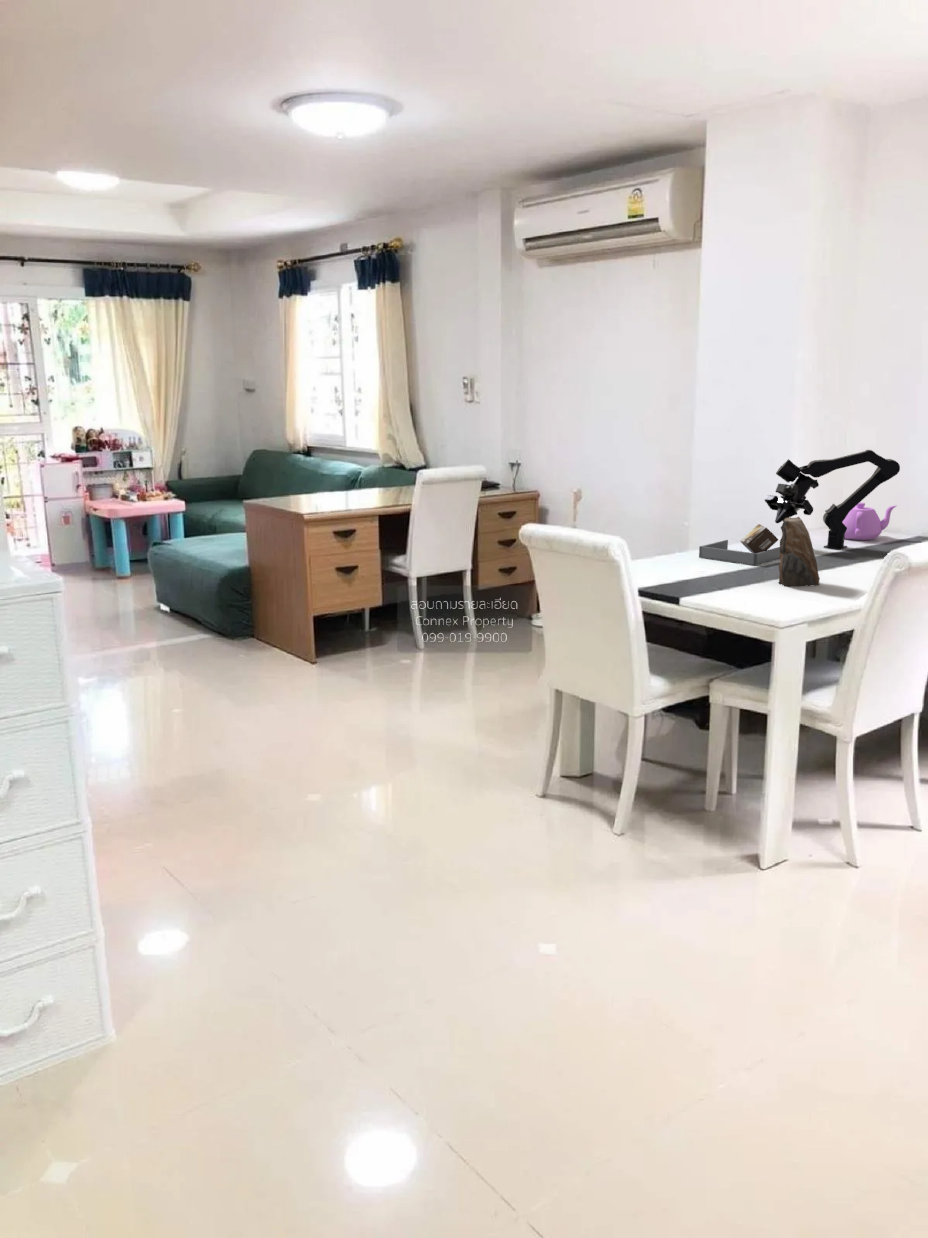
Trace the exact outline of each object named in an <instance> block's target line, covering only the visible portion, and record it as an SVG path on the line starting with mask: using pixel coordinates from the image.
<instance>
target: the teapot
mask: <svg viewBox="0 0 928 1238" xmlns="http://www.w3.org/2000/svg"><path fill="white" fill-rule="evenodd" d="M897 506H898V505H897V504H896V505H892V506H888V508H887V509H886V510H885V515H884V518H883V519H880V517H879V515H878V513H877V511H876V510H875V508H873V507H869V506H866V503H865V502H860V503H858V504H857V505H856V506H855V507H854V508H853V509H852V510H851V511H850V512H849V513H848V515H847V516H846V518H845V519H844V520H843V522H842V523H843V524H844V525H845V526H846V527H847V530H846V532H845V538H844V540H862V541H870V540H874V539H877V538H879V536H880V535H881V534H882V532H883V531H884V530H885V529H886V528H888V526H889V524H890V520H891V513H892V512H893V510H894V509H895V508H896V507H897Z"/></svg>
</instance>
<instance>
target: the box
mask: <svg viewBox="0 0 928 1238" xmlns="http://www.w3.org/2000/svg"><path fill="white" fill-rule="evenodd" d="M728 545H729V540H728V539H725V540H719V541H715V542H713V543H708V544H707V543H706V544H703V545H700V546H699V549H698V550H699V551H698V558H700V559H706V560H712V561H713V560H714V561H719V560H720V561H719V562H721V561H722V562H727V563H734V564H740V563H741V565H748V566H753V567H757V566H760V565H763V564H767V563H771V562H774V561H776V560H777V561H778V560H780V558H779V549H780V546H778V547H777V546H776V547H774V548H769V549H768V550H767V551H763V552H759V553H756V554H755V553H752V552H750V551H748V552H747V551H742V550H741V551H740V550H733V549H729V548H728V547H729V546H728ZM773 560H774V561H773ZM762 563H763V564H762Z"/></svg>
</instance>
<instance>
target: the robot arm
mask: <svg viewBox="0 0 928 1238" xmlns="http://www.w3.org/2000/svg"><path fill="white" fill-rule="evenodd" d="M867 462H868V463H871V464H872V465H874V466H876V468H875V470H874V472H873V474H872V475H871V476H870V477H869V478H868V479H867V480H866V481H865V482H863V484H861V485H860V486H859V487H858V488H857V489H856V490H855V491H854V492H853V493H851V494H850V495H849V496H848V497H847V498H846V499H845V500H844V501H842V502H841V503H840V504H837V505H836V504H835V503H832V505H830V507H829V508H828V509H826V510H824V512H825V513H824V514H823V517H822V521H823V523H824V524H825V526H826V527H828V536H827V545H823V548H826V549H835V550H843V549H847V548H848V545H845V532H846V530H847V527H846V526H845V525H844V524H843V523H842V522H843V520H844V519H845V518H846V516H847V515H848V513H849V512H850V511H851V510H852V509H853V508H854V507H856V505H857V504H858V503H862V502H861V501H863V500H864V499H865V498H866V497H868V496H869V495H870V494H871V493H872V492H873V491H874V490H876V488H878V486H880V485H881V484H883V483H885V482H887V481H888V480H889V481H890V479H893V477H895V476H897V475H898V474H899V472H900V471H901V467H900V464H899V462H898V461H897V460H894V459H892V458H884V457H882V456H881V455H879V454H877V453H876V452H875V451H874V450H872V449H866V450H862V451H859V452H857V453H851V454H847V455H844V456H840V457H837V458H831V459H816V460H815V459H814V460H811V461H810V462H809V463H808V464H807V465H803V466H800V467H799V466H797V465H796V464H795V463H793V461H791V460H790V459H787V460H786V461H785V462H784V463H783V464H782V465H780V467H779V468H778V469H777V471H776V473H775V475H777V476H778V477H779V478H781V479H782V480H783V481H785V482H786V483H790V482H791V484H785V483H778V484H777V486H776V488H775V493H776V494H777V493H778V494H779V495H780V498H779V497H778V496H777V495H773V494H772V495H771V494H768V495H766V497H765V498H764V502H765V503H766V504H767V506H768V507H769V509H770V510H772V511H776V514H775V515H776V516H775V520H774V522H775V524H779V523H781V522H782V523H783V520H784V519H785V518H792V517H793V516H797V515H798V511H800V510H803V515H805V516H812V513H813V512H814V507H813V505H812V504H811V502H810V501H809V500H808V499H807V496H806V495H807V493H808V492H809V490H810V489H811V488H813V489H816V488H818V487H819V485H820V484H819V482H818V478H821V477H822V476H826V475H827V474H829V473H831V472H833V471H835V470H838V469H839V470H840V469H843V468H848V467H852V466H855V465H860V464H863V463H867ZM813 478H817V479H813ZM793 482H794V483H793Z"/></svg>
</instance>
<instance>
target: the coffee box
mask: <svg viewBox="0 0 928 1238" xmlns="http://www.w3.org/2000/svg"><path fill="white" fill-rule="evenodd" d="M778 541H779V538H778V537H777V536H775V534H774V533H773V532H772V531H770V529H768V527H766V526H764V525H762V524H756V525H755V526H754V528H752V529H751V530H750V531H749V532H748V533H746V534H745V536H743V537H742V538H741V539H740V540H739V542H740V543H741V544H742V545H743V546H744V547H745V548H746V549H747V550H748V552H749V553H755V554H756V553H759V552H763V551H767V550H770V549H771V547H772V546H774V545H775V544H776V543H777V542H778Z"/></svg>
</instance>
